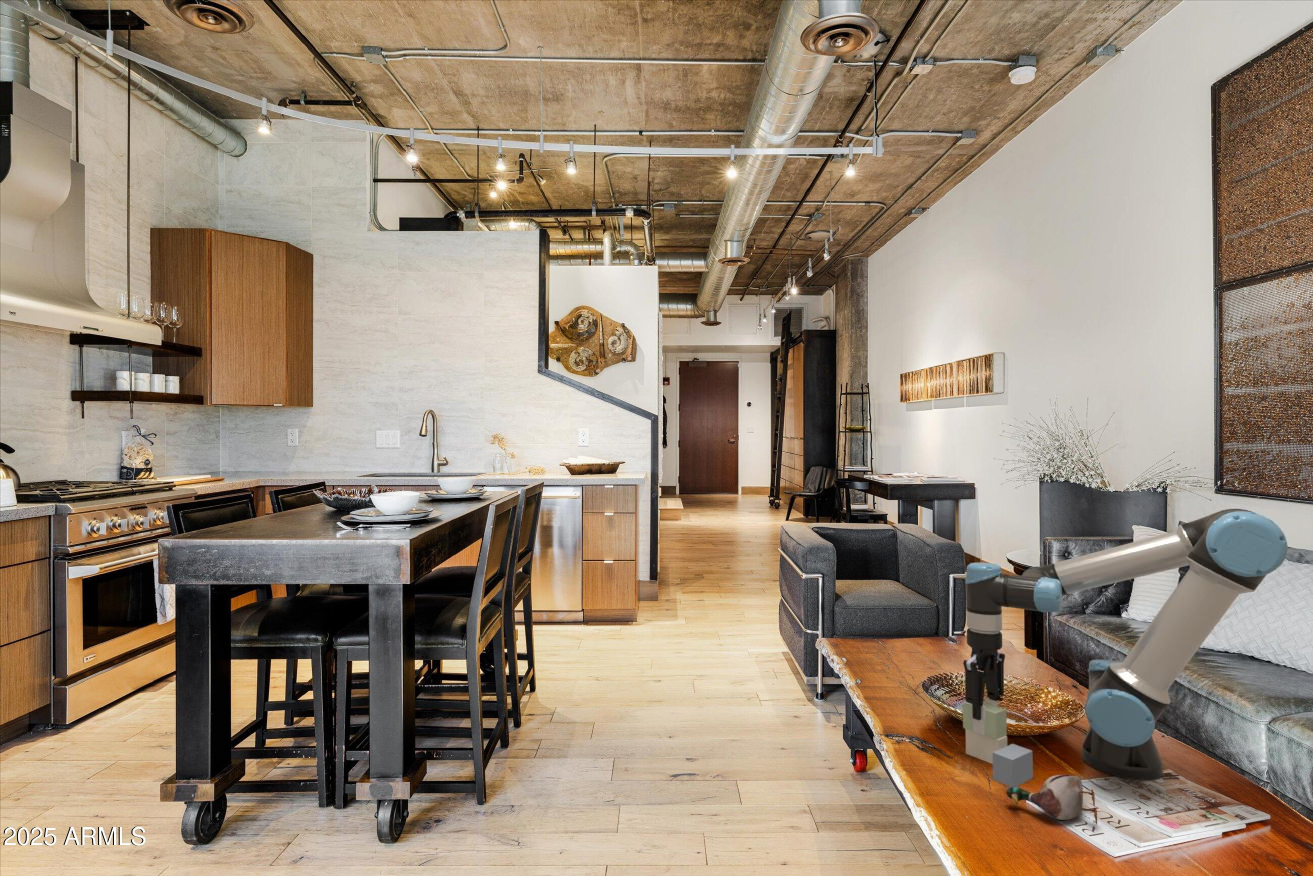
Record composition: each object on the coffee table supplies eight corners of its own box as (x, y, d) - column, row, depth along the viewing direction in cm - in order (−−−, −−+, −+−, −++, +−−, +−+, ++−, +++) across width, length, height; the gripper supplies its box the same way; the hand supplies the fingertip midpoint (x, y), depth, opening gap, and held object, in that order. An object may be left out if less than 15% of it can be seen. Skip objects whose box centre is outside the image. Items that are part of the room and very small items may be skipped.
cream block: (1007, 763, 154) (1007, 736, 154) (998, 767, 152) (998, 740, 152) (974, 750, 161) (974, 724, 161) (965, 753, 159) (965, 728, 159)
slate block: (1013, 770, 150) (1012, 743, 150) (1033, 778, 146) (1032, 750, 146) (993, 780, 146) (992, 752, 146) (1013, 788, 142) (1012, 760, 142)
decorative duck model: (1000, 781, 132) (1014, 751, 144) (1005, 820, 132) (1019, 787, 143) (1090, 796, 123) (1097, 763, 135) (1095, 839, 122) (1102, 802, 134)
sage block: (1006, 735, 154) (1006, 709, 155) (995, 740, 152) (995, 713, 152) (973, 723, 161) (973, 698, 161) (963, 728, 159) (962, 702, 159)
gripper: (989, 621, 165) (991, 717, 164) (947, 631, 155) (948, 733, 155) (1020, 628, 159) (1021, 727, 158) (977, 639, 149) (979, 745, 149)
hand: (985, 730), depth 156 cm, fingers closed on sage block, 4 cm apart
